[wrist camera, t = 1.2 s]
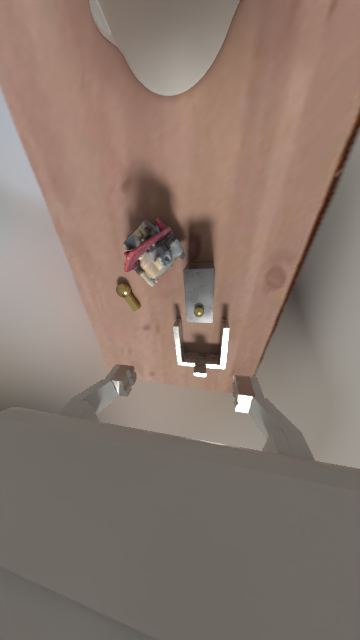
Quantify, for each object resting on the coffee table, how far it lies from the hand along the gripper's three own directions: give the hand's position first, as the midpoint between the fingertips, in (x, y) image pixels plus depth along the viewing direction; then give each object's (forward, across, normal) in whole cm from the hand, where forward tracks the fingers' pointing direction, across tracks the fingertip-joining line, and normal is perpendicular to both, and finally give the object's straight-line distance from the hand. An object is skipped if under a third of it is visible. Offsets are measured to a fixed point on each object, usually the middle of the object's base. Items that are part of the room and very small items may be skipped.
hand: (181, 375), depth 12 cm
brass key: (+24, +17, +1) cm, 29 cm away
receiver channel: (+24, 0, +13) cm, 27 cm away
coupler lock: (+24, 0, -1) cm, 24 cm away
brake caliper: (+24, +8, -8) cm, 26 cm away
